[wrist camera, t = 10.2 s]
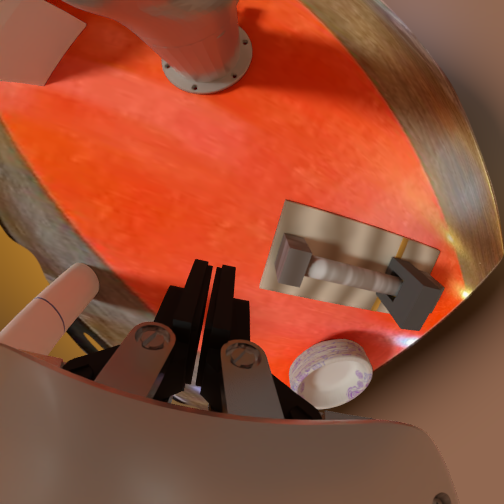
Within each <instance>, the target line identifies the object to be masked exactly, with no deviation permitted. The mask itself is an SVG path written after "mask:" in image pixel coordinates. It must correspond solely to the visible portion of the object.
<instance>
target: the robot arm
mask: <svg viewBox="0 0 504 504" xmlns="http://www.w3.org/2000/svg"><path fill="white" fill-rule="evenodd" d="M62 1H64V2H66V3H68V4H70V5H72V6H74V7H76V8H78V9H81V10H84V11H87V12H90V13H93V14H97V15H100V16H104V17H107V18H110V19H113V20H115V21H117V22H119V23H121V24H122V25H124V26H125V27H127V28H128V29H130V30H131V31H132V32H133V33H134V34H136V35H137V36H138V37H139V38H140V39H141V40H142V41H144V42H145V43H146V44H147V45H148V46H149V47H150V48H151V49H152V50H154V51H155V52H156V53H157V54H158V55H159V56H160V57H161V58H162V67H163V71H164V73H165V75H166V77H167V78H168V79H169V81H170V82H171V83H172V84H174V85H175V86H176V87H178V88H179V89H181V90H183V91H186V92H188V93H193V94H212V93H216V92H220V91H223V90H225V89H227V88H229V87H231V86H232V85H234V84H235V83H237V82H238V81H239V80H240V79H241V78H242V77H243V76H244V74H245V73H246V71H247V70H248V68H249V66H250V63H251V59H252V44H251V41H250V39H249V36H248V35H247V34H246V32H245V31H244V30H243V29H242V28H241V27H240V26H239V25H238V17H237V4H238V2H239V0H62ZM244 43H246V45H244ZM169 66H170V68H168V67H169ZM233 76H237V77H236V78H233ZM195 87H197V90H194V88H195ZM212 268H213V266H210V265H208V262H207V261H203V260H198V259H195V261H194V264H193V266H192V269H191V272H190V274H189V277H188V279H187V282H186V285H185V287H184V288H181V287H176V286H172V285H171V286H170V287H169V288H168V291H167V293H166V295H165V297H164V299H163V302H162V304H161V306H160V308H159V311H158V313H157V315H156V317H155V320H154V322H144V323H141V324H139V325H136V326H135V327H134V328H133V329H132V330H131V332H130V333H129V334H128V335H127V337H126V338H125V339H124V341H123V342H122V343H121V345H117V346H114V347H111V348H108V349H105V350H101V351H98V352H95V353H91V354H88V355H85V356H81V357H78V358H74V359H72V360H70V361H68V362H67V363H65V362H63V359H61V358H56V357H51V356H46V355H42V354H37V353H33V352H29V351H25V350H21V349H16V348H13V347H11V346H8V345H6V344H2V343H0V504H460V503H459V500H458V497H457V493H456V490H455V487H454V484H453V481H452V479H451V476H450V473H449V471H448V468H447V466H446V463H445V461H444V459H443V457H442V455H441V453H440V451H439V449H438V447H437V445H436V444H435V442H434V441H433V439H432V438H431V437H430V435H429V434H428V433H427V432H425V431H424V430H422V429H421V428H418V427H416V426H413V425H411V424H406V423H402V422H397V421H389V420H376V419H372V418H366V417H359V416H353V415H347V414H341V413H336V412H330V411H325V412H324V413H320V412H319V411H318V410H317V409H316V408H315V407H314V406H313V405H312V404H310V403H309V402H308V401H306V400H305V399H304V398H302V397H301V396H300V395H298V394H297V393H296V392H294V391H293V390H292V389H290V388H289V387H288V386H287V385H285V384H284V383H283V382H281V381H280V380H279V379H278V378H276V377H275V376H274V375H273V374H271V371H270V367H269V364H268V360H267V357H266V354H265V352H264V351H263V350H262V349H261V348H260V347H259V346H258V345H256V344H255V343H253V342H250V310H249V301H246V300H241V299H235V298H233V297H234V284H235V271H236V267H232V266H227V265H223V266H222V268H220V267H217V269H216V274H215V279H214V283H213V288H212V293H211V298H210V303H209V308H208V313H207V318H206V323H205V329H204V335H203V341H202V347H201V353H200V359H199V366H198V372H197V379H196V386H201V392H200V395H202V396H203V397H204V398H205V400H206V401H207V402H208V403H209V404H208V411H206V410H200V409H195V408H189V407H185V406H180V405H175V404H171V401H172V397H173V395H174V394H177V393H179V392H181V391H184V388H185V383H186V384H191V381H192V376H193V370H194V365H195V360H196V355H197V350H198V345H199V340H200V335H201V330H202V325H203V319H204V314H205V308H206V302H207V296H208V290H209V285H210V279H211V274H212Z"/></svg>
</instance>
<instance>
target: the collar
mask: <svg viewBox="0 0 504 504" xmlns="http://www.w3.org/2000/svg"><path fill="white" fill-rule="evenodd" d="M385 274H388V275H392V276H396V277H400V278H401V279H402V280H403V283H402V285H401V287H400V289H399V291H398V293H397V295H396V297H395V296H392V295H387V294H383V293H378V292H376V295H377V297H378V298H379V299H380V301H381V302H382V303H383V305H384V306H385V307H386V309H387V310H388V311H389V313H390V314H391V316H392V317H393V318H394V320H395V321H396V323H397V324H398V325H399V327H400V328H401V329H408V330H416V331H419V330H420V329H421V327H422V325H423V324H424V322H425V320H426V319H427V317H428V315H429V313H430V311H431V310H432V308H433V306H434V304H435V302H436V300H437V298H438V296H439V294H440V292H441V290H440V289H439V288H438V287H437V286H436V285H435V284H434V283H433V282H432V281H431V280H429V279H428V278H427V277H426V276H425V275H424V274H423V273H422V272H420V271H419V270H418V269H417V268H416V267H415V266H414V265H412V264H411V263H410V262H408V261H405V260H401V259H398V258H395V257H392V258H391V261H390V263H389V265H388V268H387V270H386V272H385Z"/></svg>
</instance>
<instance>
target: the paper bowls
mask: <svg viewBox="0 0 504 504" xmlns="http://www.w3.org/2000/svg"><path fill="white" fill-rule="evenodd" d="M372 374H373V368H372V365H371V363H370V361H369V359H368V357H367V355H366V353H365V351H364V349H363V348H362V347H361V346H360V345H359V344H358V343H356V342H354V341H351V340H347V339H336V340H328V341H323V342H320V343H317V344H315V345H313V346H311V347H310V348H309V349H307V350H305V351H304V352H303V353H302V354H301V355H299V356H298V357H297V358H296V359H295V361H294V362H293V363H292V365H291V367H290V371H289V378H290V386H291V389H292V390H293V391H294V392H296V393H297V394H298V395H300V396H301V397H302V398H304V399H305V400H306V401H308V402H309V403H310V404H312V405H313V406H314V407H315V408H316V409H327V408H332V407H335V406H339V405H342V404H344V403H346V402H348V401H350V400H352V399H354V398H355V397H356V396H358V395H359V394H360V393H361V392H362V391H363V390H364V389H365V388H366V387H367V386H368V384H369V382H370V380H371V378H372Z"/></svg>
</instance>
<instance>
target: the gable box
mask: <svg viewBox="0 0 504 504" xmlns="http://www.w3.org/2000/svg"><path fill="white" fill-rule="evenodd" d="M85 27H86V23H84V22H83V21H81V20H79V19H78V18H76V17H74V16H72V15H71V14H69V13H67V12H65V11H64V10H62V9H60V8H58V7H56V6H54V5H52V4H50V3H49V2H47V1H45V0H0V81H8V82H17V83H25V84H32V85H39V86H44V85H45V83H46V82H47V80H48V78H49V77H50V75H51V73H52V72H53V70H54V69H55V67H56V66H57V64H58V63H59V61H60V60H61V58H62V57H63V55H64V54H65V53H66V51H67V50H68V49H69V47H70V46H71V44H72V43H73V42H74V41H75V39H76V38H77V37H78V35H79V34H80V33H81V32H82V30H83V29H84V28H85Z"/></svg>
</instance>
